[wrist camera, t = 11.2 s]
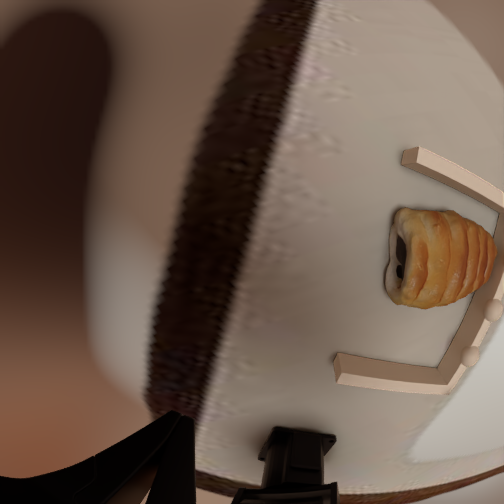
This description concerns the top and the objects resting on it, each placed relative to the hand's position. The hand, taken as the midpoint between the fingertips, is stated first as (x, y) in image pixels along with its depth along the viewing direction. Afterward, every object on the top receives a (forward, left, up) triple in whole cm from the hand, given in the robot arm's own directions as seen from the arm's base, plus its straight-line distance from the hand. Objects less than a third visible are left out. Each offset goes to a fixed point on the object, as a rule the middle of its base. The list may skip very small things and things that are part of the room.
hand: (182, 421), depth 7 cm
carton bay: (+4, -13, -12) cm, 18 cm away
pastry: (+6, -12, -12) cm, 18 cm away
